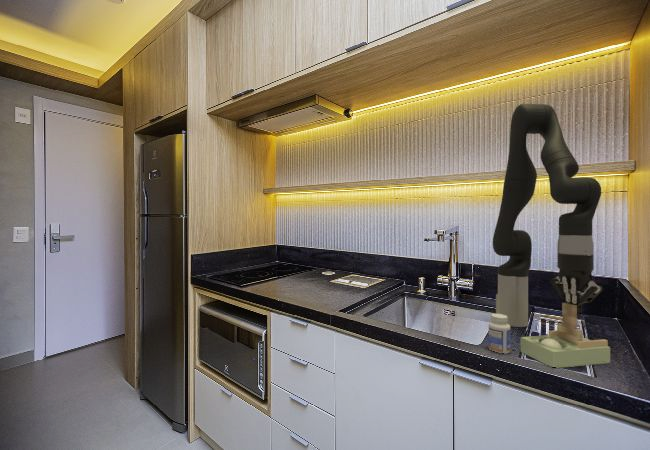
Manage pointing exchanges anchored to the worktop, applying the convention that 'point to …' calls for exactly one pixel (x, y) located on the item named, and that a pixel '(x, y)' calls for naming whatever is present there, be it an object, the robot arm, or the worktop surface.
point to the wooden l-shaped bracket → (569, 324)
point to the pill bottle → (499, 334)
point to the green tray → (566, 351)
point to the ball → (551, 343)
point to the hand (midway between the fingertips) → (574, 316)
